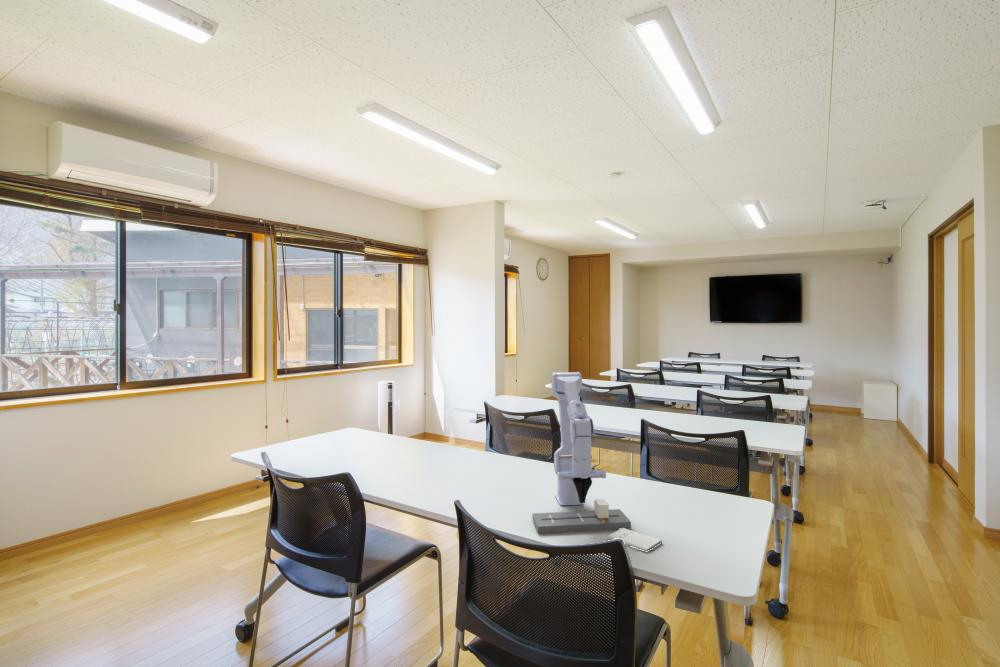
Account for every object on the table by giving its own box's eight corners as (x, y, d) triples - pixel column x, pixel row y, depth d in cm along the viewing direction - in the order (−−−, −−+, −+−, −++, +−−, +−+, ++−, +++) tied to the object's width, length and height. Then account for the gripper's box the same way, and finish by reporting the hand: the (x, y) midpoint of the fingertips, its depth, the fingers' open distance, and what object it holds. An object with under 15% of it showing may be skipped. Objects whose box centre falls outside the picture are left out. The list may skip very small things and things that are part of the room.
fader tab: (594, 512, 159) (594, 499, 158) (603, 511, 159) (603, 498, 159) (598, 518, 154) (598, 505, 153) (608, 517, 154) (608, 504, 154)
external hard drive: (646, 555, 136) (607, 540, 145) (662, 545, 142) (623, 532, 151) (646, 549, 136) (607, 535, 145) (662, 539, 142) (623, 526, 151)
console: (532, 519, 159) (532, 513, 159) (619, 515, 162) (619, 508, 162) (537, 533, 149) (537, 526, 149) (630, 528, 152) (630, 521, 152)
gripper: (560, 462, 150) (561, 507, 151) (609, 460, 152) (609, 505, 152) (556, 455, 157) (556, 499, 158) (602, 454, 159) (602, 497, 159)
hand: (581, 501), depth 156 cm, fingers closed
